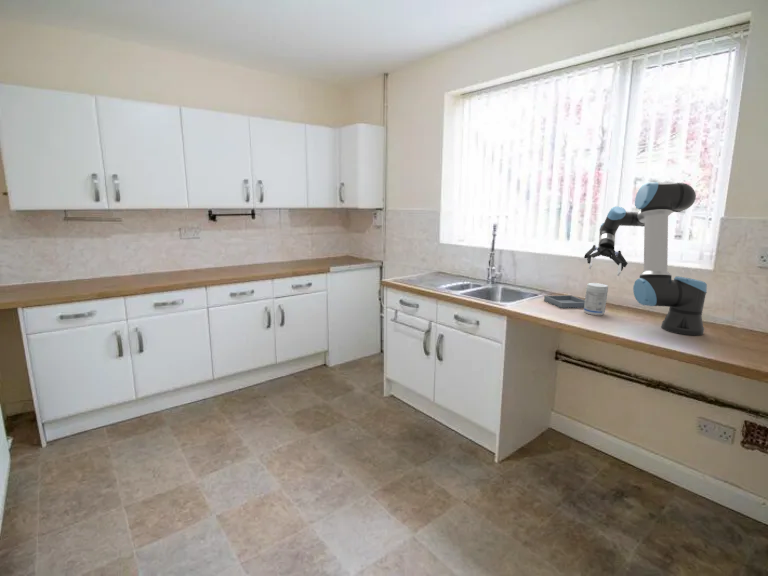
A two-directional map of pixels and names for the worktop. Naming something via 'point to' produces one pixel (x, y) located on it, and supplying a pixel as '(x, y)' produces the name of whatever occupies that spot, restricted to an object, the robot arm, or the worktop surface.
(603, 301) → the supplement tub
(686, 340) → the worktop surface
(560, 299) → the tray
